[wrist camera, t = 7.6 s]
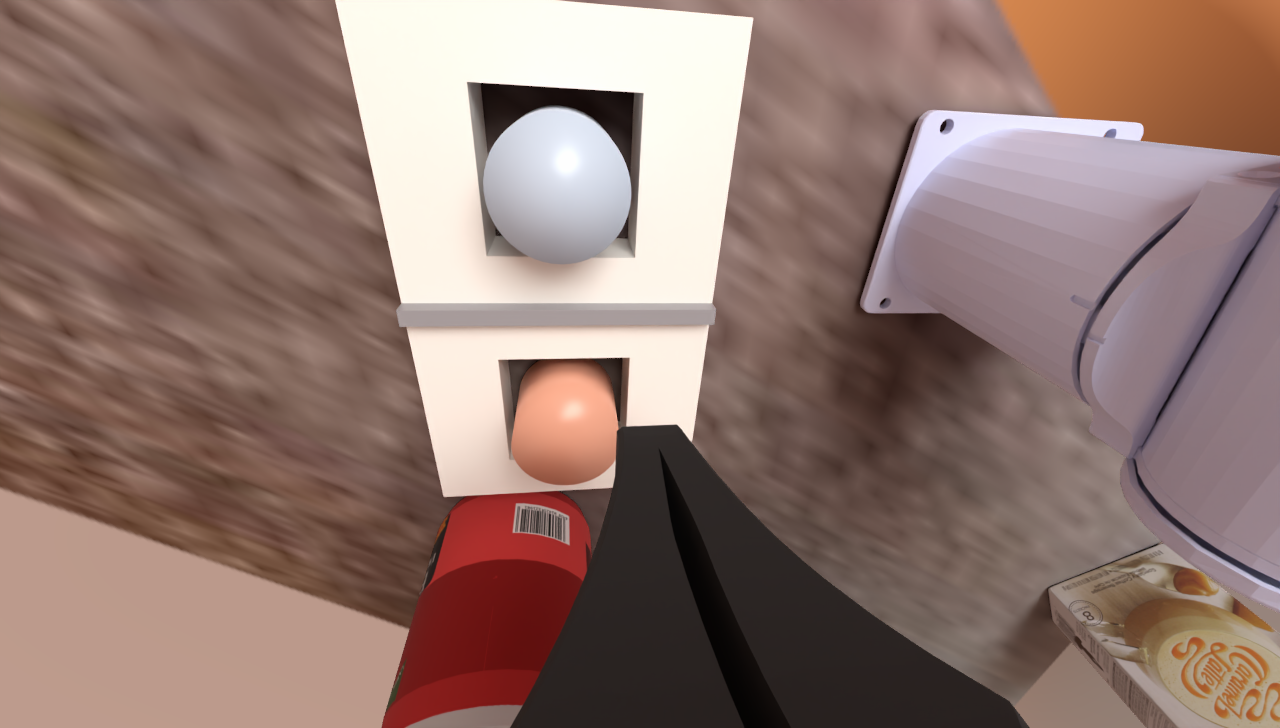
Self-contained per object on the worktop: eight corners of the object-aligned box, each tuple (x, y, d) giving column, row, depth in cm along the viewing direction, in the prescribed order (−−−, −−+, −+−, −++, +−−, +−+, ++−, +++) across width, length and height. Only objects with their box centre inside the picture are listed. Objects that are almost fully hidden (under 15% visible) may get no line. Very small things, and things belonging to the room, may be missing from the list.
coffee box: (1166, 537, 35) (1540, 824, 22) (1161, 578, 39) (1483, 851, 25) (1044, 587, 37) (1322, 885, 23) (1048, 622, 40) (1295, 902, 27)
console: (728, 25, 15) (760, 15, 13) (676, 450, 25) (688, 493, 22) (366, -5, 14) (320, -24, 11) (454, 459, 23) (440, 507, 20)
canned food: (414, 500, 24) (317, 768, 15) (566, 460, 24) (566, 703, 15) (474, 586, 28) (428, 840, 19) (605, 553, 28) (623, 789, 19)
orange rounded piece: (613, 352, 20) (622, 400, 17) (611, 427, 22) (618, 482, 19) (516, 353, 19) (506, 404, 16) (522, 431, 21) (515, 488, 18)
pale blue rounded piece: (621, 108, 15) (634, 116, 12) (617, 233, 17) (628, 265, 14) (493, 101, 15) (474, 107, 12) (505, 230, 17) (491, 263, 14)
